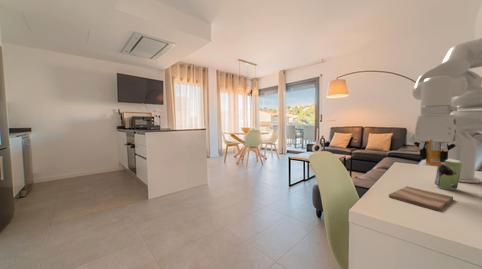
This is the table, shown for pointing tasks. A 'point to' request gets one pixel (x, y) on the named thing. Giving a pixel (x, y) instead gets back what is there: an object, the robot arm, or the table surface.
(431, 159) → the supplement box
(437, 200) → the walnut board
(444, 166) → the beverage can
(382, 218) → the table surface
